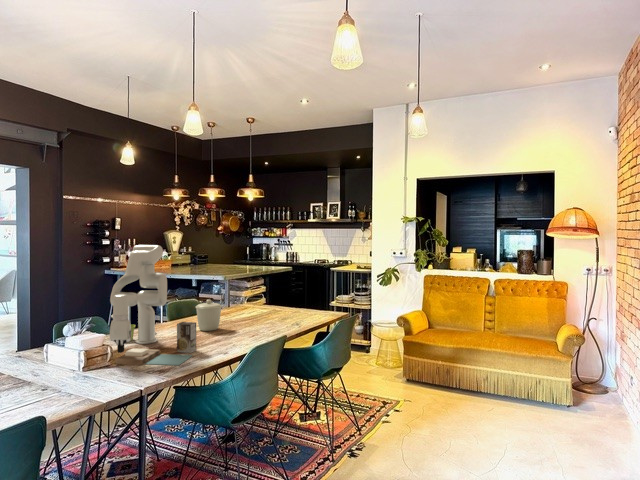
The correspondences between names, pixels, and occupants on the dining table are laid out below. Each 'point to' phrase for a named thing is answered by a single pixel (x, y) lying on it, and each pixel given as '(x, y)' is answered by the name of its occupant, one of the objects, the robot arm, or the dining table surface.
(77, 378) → the dining table surface
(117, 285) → the robot arm
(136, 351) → the tile
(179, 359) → the teal mat
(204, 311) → the canister
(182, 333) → the coffee box
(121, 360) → the walnut deck
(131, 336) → the plant pot
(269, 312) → the dining table surface
